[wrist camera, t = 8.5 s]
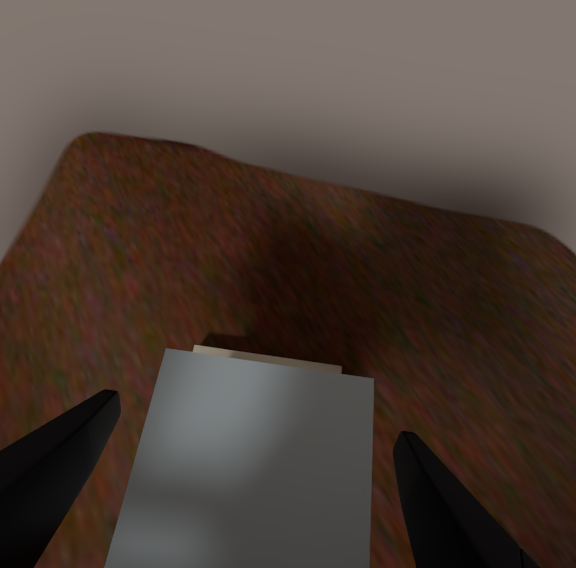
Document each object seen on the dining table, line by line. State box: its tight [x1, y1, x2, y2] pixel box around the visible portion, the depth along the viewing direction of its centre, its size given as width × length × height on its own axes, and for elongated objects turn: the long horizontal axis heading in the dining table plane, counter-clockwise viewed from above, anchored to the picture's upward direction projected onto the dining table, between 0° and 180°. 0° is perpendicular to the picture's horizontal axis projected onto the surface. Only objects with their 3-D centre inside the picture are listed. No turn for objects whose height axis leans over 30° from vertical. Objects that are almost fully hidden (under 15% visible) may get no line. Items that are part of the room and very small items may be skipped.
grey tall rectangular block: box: [105, 348, 374, 568], centre depth 12 cm, size 6×6×10 cm
